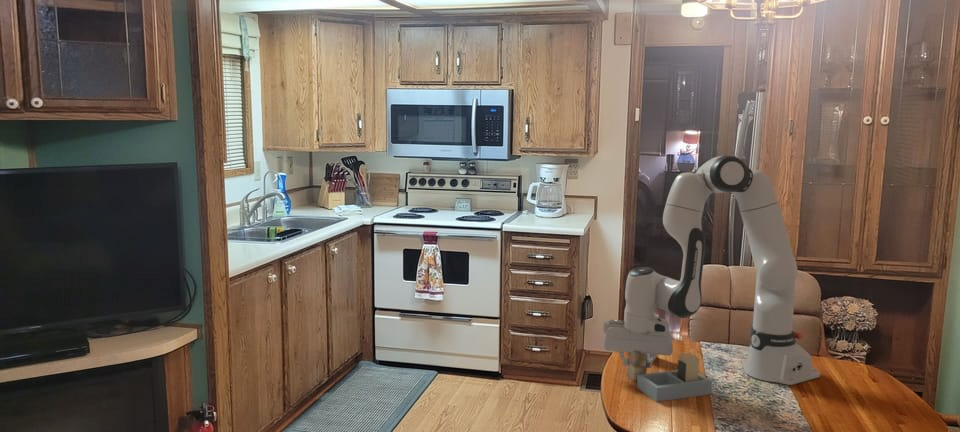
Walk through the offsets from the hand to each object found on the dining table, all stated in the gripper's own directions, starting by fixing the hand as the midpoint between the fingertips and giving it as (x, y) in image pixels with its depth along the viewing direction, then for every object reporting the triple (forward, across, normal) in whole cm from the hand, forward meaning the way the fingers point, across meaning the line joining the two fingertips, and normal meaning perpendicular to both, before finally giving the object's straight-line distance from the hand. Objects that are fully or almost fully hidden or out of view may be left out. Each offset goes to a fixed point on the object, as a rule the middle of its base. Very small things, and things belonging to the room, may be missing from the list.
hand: (636, 366), depth 205 cm
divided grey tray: (+4, +10, -8) cm, 13 cm away
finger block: (+4, 0, 0) cm, 4 cm away
